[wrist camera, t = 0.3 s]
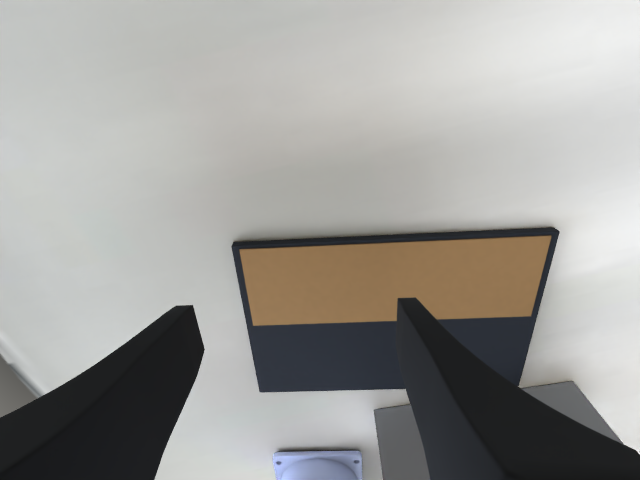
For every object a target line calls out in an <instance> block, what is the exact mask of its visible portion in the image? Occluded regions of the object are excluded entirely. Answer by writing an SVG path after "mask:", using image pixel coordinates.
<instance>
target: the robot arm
mask: <svg viewBox="0 0 640 480" xmlns="http://www.w3.org/2000/svg"><path fill="white" fill-rule="evenodd" d="M204 350H205V349H204V345H203V342H202V338H201V334H200V330H199V327H198V323H197V319H196V315H195V312H194V308H193V305H186V306H175V307H174V308H172V309H171V310H169V311H168V312H166V313H165V314H164V315H162V316H161V317H160V318H158V319H157V320H156V321H154V322H153V323H152V324H150V325H149V326H148V327H147V328H145V329H144V330H143V331H141V332H140V333H139V334H137V335H136V336H135V337H133V338H132V339H131V340H129V341H128V342H127V343H125V344H124V345H122V346H121V347H120V348H118V349H117V350H115V351H114V352H112V353H111V354H110V355H108V356H107V357H105V358H104V359H103V360H101V361H100V362H98V363H97V364H95V365H94V366H92V367H91V368H89V369H88V370H86V371H84V372H83V373H81V374H80V375H78V376H76V377H75V378H73V379H71V380H70V381H68V382H66V383H65V384H63V385H61V386H60V387H58V388H56V389H55V390H53V391H51V392H49V393H47V394H45V395H43V396H41V397H40V398H38V399H36V400H34V401H32V402H31V403H28V404H27V405H25V406H23V407H21V408H19V409H17V410H15V411H13V412H11V413H9V414H7V415H5V416H3V417H1V418H0V480H154V479H155V476H156V473H157V470H158V467H159V464H160V461H161V458H162V455H163V452H164V450H165V447H166V445H167V442H168V440H169V438H170V435H171V433H172V431H173V429H174V426H175V424H176V422H177V420H178V418H179V415H180V413H181V411H182V409H183V407H184V404H185V402H186V400H187V398H188V395H189V393H190V391H191V389H192V386H193V384H194V382H195V379H196V377H197V374H198V371H199V368H200V364H201V361H202V357H203V354H204ZM396 350H397V355H398V361H399V366H400V371H401V375H402V378H403V381H404V385H405V388H406V391H407V394H408V398H409V401H410V404H411V407H412V410H413V414H414V417H415V420H416V423H417V426H418V430H419V433H420V436H421V440H422V444H423V448H424V452H425V457H426V461H427V466H428V471H429V476H430V480H640V455H639V454H638V452H637V451H636V450H634V449H632V448H630V447H628V446H626V445H624V444H621V443H619V442H617V441H615V440H613V439H611V438H609V437H607V436H605V435H603V434H601V433H599V432H597V431H595V430H592V429H590V428H588V427H586V426H584V425H582V424H581V423H579V422H577V421H575V420H573V419H571V418H570V417H568V416H566V415H564V414H562V413H560V412H559V411H557V410H555V409H553V408H552V407H550V406H548V405H546V404H545V403H543V402H541V401H540V400H538V399H536V398H535V397H533V396H532V395H530V394H528V393H527V392H525V391H524V390H522V389H521V388H519V387H517V386H516V385H514V384H513V383H511V382H510V381H509V380H507V379H506V378H504V377H503V376H501V375H500V374H499V373H497V372H496V371H495V370H493V369H492V368H491V367H489V366H488V365H487V364H485V363H484V362H483V361H481V360H480V359H479V358H478V357H476V356H475V355H474V354H473V353H472V352H470V351H469V350H468V349H467V348H466V347H465V346H464V345H462V344H461V343H460V342H459V341H458V340H457V339H456V338H455V337H454V336H453V335H452V334H451V333H450V332H449V331H448V330H447V329H446V328H444V327H443V326H442V325H441V323H440V322H439V321H438V320H437V319H436V318H435V317H434V316H433V315H432V314H431V313H430V312H429V311H428V310H427V309H426V308H425V307H424V306H423V304H422V303H421V302H420V301H419V300H418V299H417V298H416V297H413V298H398V301H397V322H396ZM273 463H274V468H275V474H276V479H277V480H362V454H361V452H359V451H305V452H276V453H274V454H273Z"/></svg>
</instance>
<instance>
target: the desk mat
mask: <svg viewBox="0 0 640 480" xmlns="http://www.w3.org/2000/svg"><path fill="white" fill-rule="evenodd" d="M558 236H559V231H558V230H557V229H555V228H533V229H511V230H490V231H468V232H446V233H424V234H402V235H380V236H358V237H336V238H314V239H292V240H271V241H249V242H234V243H233V244H232V251H233V256H234V262H235V267H236V272H237V277H238V282H239V287H240V293H241V298H242V303H243V308H244V313H245V318H246V324H247V329H248V334H249V339H250V344H251V349H252V354H253V360H254V365H255V370H256V375H257V380H258V385H259V391H260V392H294V391H334V390H374V389H406V388H405V385H404V381H403V378H402V375H401V371H400V366H399V361H398V355H397V350H396V322H397V301H398V298H413V297H416V298H417V299H418V300H419V301H420V302H421V303H422V304H423V306H424V307H425V308H426V309H427V310H428V311H429V312H430V313H431V314H432V315H433V316H434V317H435V318H436V319H437V320H438V321H439V322H440V323H441V325H442V326H443V327H444V328H446V329H447V330H448V331H449V332H450V333H451V334H452V335H453V336H454V337H455V338H456V339H457V340H458V341H459V342H460V343H461V344H462V345H464V346H465V347H466V348H467V349H468V350H469V351H470V352H472V353H473V354H474V355H475V356H476V357H478V358H479V359H480V360H481V361H483V362H484V363H485V364H487V365H488V366H489V367H491V368H492V369H493V370H495V371H496V372H497V373H499V374H500V375H501V376H503V377H504V378H506V379H507V380H509V381H510V382H511V383H513V384H514V385H516V386H519V382H520V378H521V375H522V371H523V367H524V363H525V360H526V356H527V352H528V348H529V345H530V341H531V337H532V333H533V330H534V326H535V322H536V318H537V315H538V311H539V307H540V303H541V299H542V296H543V292H544V288H545V284H546V281H547V277H548V273H549V269H550V266H551V262H552V258H553V254H554V251H555V247H556V243H557V239H558Z"/></svg>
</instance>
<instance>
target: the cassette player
mask: <svg viewBox="0 0 640 480" xmlns="http://www.w3.org/2000/svg"><path fill="white" fill-rule="evenodd" d="M522 390H524V391H525V392H527V393H528V394H530V395H532V396H533V397H535V398H536V399H538V400H540V401H541V402H543V403H545V404H546V405H548V406H550V407H552V408H553V409H555V410H557V411H559V412H560V413H562V414H564V415H566V416H568V417H570V418H571V419H573V420H575V421H577V422H579V423H581V424H582V425H584V426H586V427H588V428H590V429H592V430H595V431H597V432H599V433H601V434H603V435H605V436H607V437H609V438H611V439H613V440H615V441H617V442H619V443H621V444H623V443H622V442H621V440H620V439H619V438H618V437H617V435H616V434H615V433H614V432H613V430H612V429H611V428H610V427H609V425H608V424H607V423H606V422H605V420H604V419H603V418H602V417H601V415H600V414H599V413H598V412H597V410H596V409H595V408H594V407H593V405H592V404H591V403H590V402H589V400H588V399H587V398H586V397H585V396H584V394H583V393H582V392H581V391H580V389H579V388H578V387H577V386H576V384H575V383H574V382H573V381H570V382H563V383H556V384H549V385H542V386H536V387H529V388H522ZM374 416H375V423H376V430H377V438H378V445H379V452H380V460H381V467H382V474H383V480H430V476H429V471H428V466H427V461H426V457H425V452H424V448H423V444H422V440H421V436H420V433H419V430H418V426H417V423H416V420H415V417H414V414H413V410H412V407H411V405H404V406H397V407H390V408H383V409H376V410H374Z"/></svg>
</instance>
